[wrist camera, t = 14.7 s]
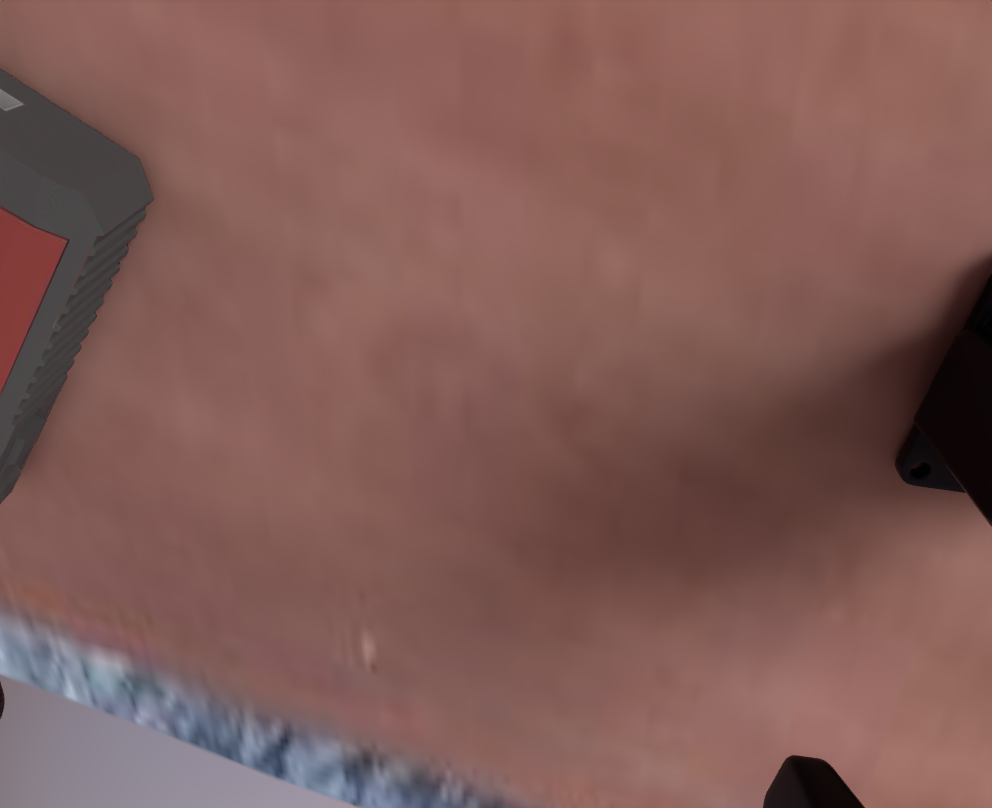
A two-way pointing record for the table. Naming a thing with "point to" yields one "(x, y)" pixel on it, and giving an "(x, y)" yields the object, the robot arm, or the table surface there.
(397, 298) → the table surface
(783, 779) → the robot arm
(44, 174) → the walkie-talkie
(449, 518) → the table surface
